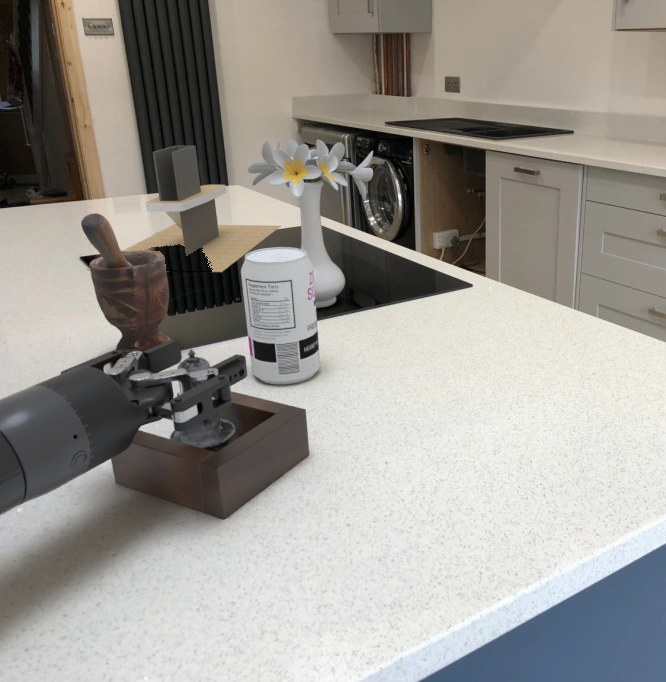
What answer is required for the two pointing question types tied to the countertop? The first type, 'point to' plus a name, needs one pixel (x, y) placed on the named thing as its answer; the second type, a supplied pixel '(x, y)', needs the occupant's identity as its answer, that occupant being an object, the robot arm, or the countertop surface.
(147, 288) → the mortar and pestle
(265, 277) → the supplement can
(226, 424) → the salt shaker
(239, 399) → the stand
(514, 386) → the countertop surface
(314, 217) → the flower vase
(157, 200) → the architectural model
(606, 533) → the countertop surface
